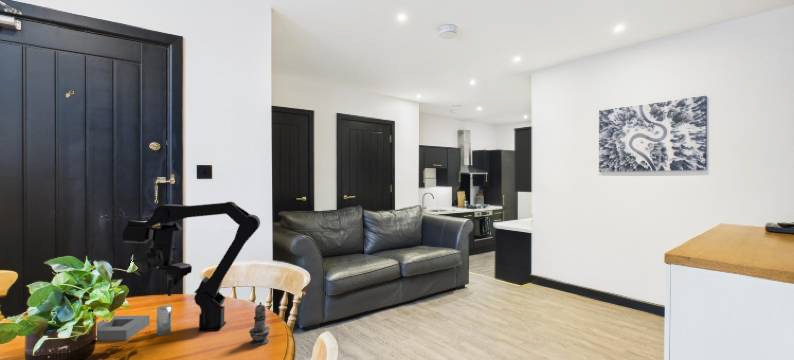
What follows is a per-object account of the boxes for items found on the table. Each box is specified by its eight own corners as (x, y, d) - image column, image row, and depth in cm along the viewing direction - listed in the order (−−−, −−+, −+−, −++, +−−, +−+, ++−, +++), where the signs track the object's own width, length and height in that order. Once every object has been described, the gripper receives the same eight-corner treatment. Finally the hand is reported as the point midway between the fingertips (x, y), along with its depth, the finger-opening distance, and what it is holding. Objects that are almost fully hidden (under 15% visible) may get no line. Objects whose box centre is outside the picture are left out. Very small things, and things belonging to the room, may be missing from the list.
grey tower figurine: (262, 336, 113) (263, 297, 113) (273, 341, 110) (274, 301, 110) (244, 342, 108) (245, 302, 108) (256, 348, 105) (257, 306, 105)
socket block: (149, 324, 120) (149, 315, 120) (126, 340, 108) (126, 330, 108) (110, 325, 119) (110, 315, 119) (82, 341, 107) (82, 330, 107)
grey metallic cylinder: (173, 330, 116) (174, 305, 116) (167, 335, 112) (167, 309, 112) (160, 330, 115) (161, 305, 115) (153, 335, 111) (154, 309, 112)
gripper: (114, 243, 109) (107, 295, 109) (167, 251, 105) (160, 305, 105) (146, 239, 120) (140, 286, 120) (195, 246, 116) (189, 295, 116)
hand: (157, 293), depth 115 cm, fingers open, 9 cm apart
